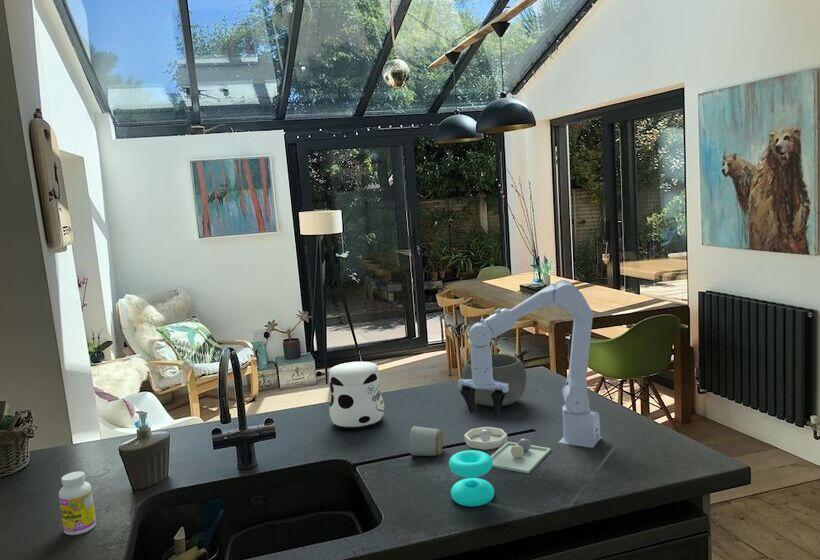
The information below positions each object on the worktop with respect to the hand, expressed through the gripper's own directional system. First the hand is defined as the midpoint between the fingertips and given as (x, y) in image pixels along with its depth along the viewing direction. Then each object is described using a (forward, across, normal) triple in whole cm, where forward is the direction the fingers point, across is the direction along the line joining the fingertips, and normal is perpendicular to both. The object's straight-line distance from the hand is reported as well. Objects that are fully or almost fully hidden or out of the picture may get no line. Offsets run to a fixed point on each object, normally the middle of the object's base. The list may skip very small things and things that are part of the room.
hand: (484, 414), depth 178 cm
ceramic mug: (+9, -12, -12) cm, 19 cm away
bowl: (+9, -12, +30) cm, 34 cm away
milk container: (+9, -45, 0) cm, 46 cm away
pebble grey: (+8, 0, 0) cm, 8 cm away
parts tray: (+8, +12, -7) cm, 16 cm away
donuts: (+9, +11, -30) cm, 34 cm away
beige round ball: (+8, +12, -7) cm, 16 cm away
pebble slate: (+8, +12, -2) cm, 15 cm away
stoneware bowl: (+8, 0, 0) cm, 8 cm away
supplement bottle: (+8, -64, -80) cm, 103 cm away
